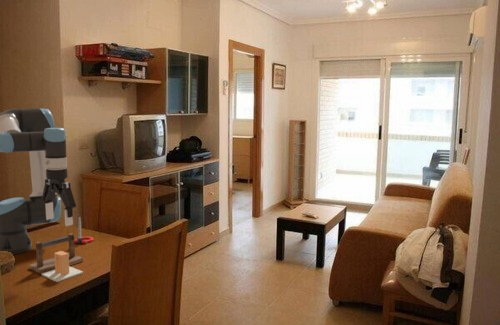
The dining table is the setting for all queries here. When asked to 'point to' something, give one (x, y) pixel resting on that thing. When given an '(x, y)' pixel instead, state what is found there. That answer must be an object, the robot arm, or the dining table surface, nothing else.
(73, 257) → the stand
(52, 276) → the rubber mat
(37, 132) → the robot arm
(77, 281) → the dining table surface
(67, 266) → the c-link
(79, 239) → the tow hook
